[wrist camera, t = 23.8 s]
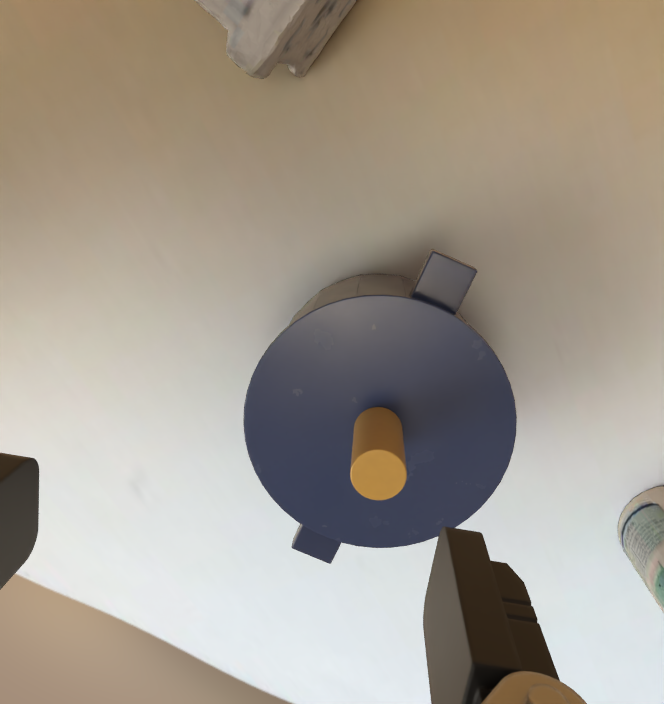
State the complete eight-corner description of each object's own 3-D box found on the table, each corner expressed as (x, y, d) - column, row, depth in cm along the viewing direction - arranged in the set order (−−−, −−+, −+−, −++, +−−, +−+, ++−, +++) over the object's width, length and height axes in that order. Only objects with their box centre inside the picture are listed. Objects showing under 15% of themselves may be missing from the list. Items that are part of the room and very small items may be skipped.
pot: (237, 449, 43) (202, 519, 34) (343, 199, 38) (333, 207, 29) (406, 520, 43) (414, 607, 35) (532, 283, 38) (578, 316, 30)
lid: (210, 477, 34) (176, 541, 28) (307, 245, 30) (290, 263, 24) (439, 573, 35) (452, 654, 29) (561, 357, 31) (604, 401, 25)
